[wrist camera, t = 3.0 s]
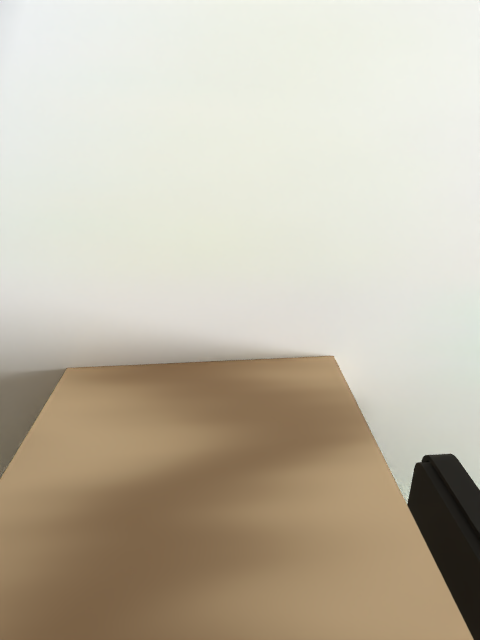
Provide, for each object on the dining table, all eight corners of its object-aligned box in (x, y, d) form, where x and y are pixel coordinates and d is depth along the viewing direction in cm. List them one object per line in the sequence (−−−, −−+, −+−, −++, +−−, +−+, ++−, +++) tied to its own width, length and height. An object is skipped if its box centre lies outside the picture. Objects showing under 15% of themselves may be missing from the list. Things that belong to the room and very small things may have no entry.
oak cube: (332, 353, 10) (474, 641, 4) (319, 535, 12) (397, 858, 7) (67, 366, 10) (-124, 682, 4) (108, 548, 12) (22, 891, 7)
